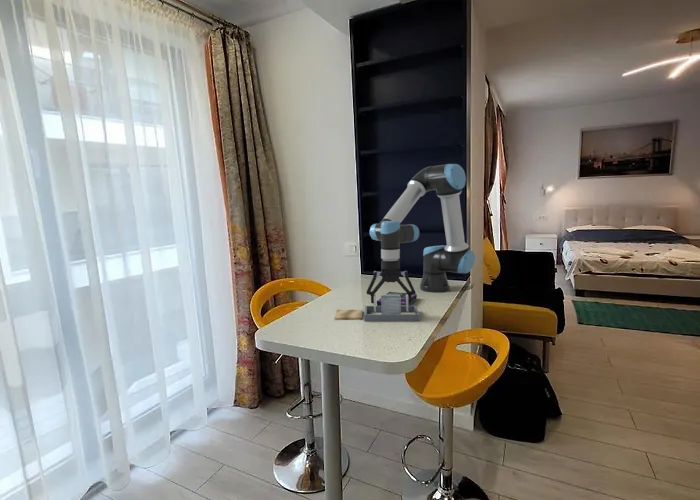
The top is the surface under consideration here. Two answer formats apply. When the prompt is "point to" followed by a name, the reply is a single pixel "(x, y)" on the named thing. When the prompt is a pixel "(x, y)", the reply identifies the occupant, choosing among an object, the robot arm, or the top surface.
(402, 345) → the top surface
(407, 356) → the top surface
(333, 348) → the top surface
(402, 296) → the box
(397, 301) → the medicine box
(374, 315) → the bin
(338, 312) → the pad
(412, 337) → the top surface
